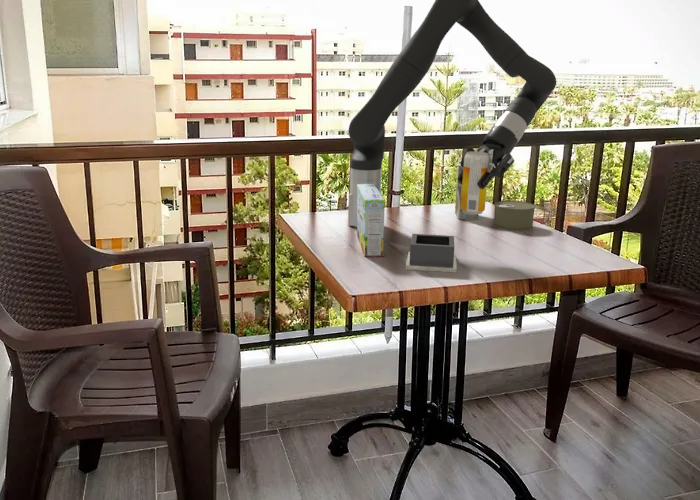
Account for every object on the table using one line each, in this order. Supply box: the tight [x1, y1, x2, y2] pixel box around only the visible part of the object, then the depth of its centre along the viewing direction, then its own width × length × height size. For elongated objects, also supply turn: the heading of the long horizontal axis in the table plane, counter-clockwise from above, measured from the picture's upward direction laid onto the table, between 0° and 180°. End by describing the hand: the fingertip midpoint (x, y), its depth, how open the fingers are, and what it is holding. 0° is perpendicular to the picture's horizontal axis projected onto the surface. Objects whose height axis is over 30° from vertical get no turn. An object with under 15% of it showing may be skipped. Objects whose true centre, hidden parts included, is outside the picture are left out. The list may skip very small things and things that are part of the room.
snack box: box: [356, 184, 386, 258], centre depth 175 cm, size 21×6×15 cm, turn 5°
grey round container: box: [493, 200, 536, 232], centre depth 200 cm, size 12×12×7 cm
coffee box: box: [454, 164, 479, 221], centre depth 210 cm, size 9×6×16 cm
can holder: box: [405, 233, 458, 273], centre depth 162 cm, size 12×12×6 cm
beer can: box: [460, 151, 489, 215], centre depth 165 cm, size 6×6×15 cm
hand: (469, 184), depth 164 cm, fingers closed on beer can, 6 cm apart
